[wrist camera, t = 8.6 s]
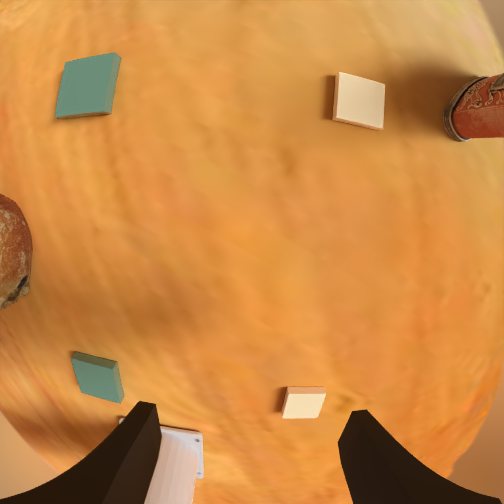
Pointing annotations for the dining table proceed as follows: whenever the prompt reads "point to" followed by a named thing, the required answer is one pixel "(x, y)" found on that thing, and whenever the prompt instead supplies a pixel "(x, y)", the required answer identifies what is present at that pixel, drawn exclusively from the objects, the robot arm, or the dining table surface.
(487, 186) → the dining table surface
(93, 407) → the dining table surface
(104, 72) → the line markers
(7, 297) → the bread roll
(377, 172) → the dining table surface
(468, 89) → the lighter
